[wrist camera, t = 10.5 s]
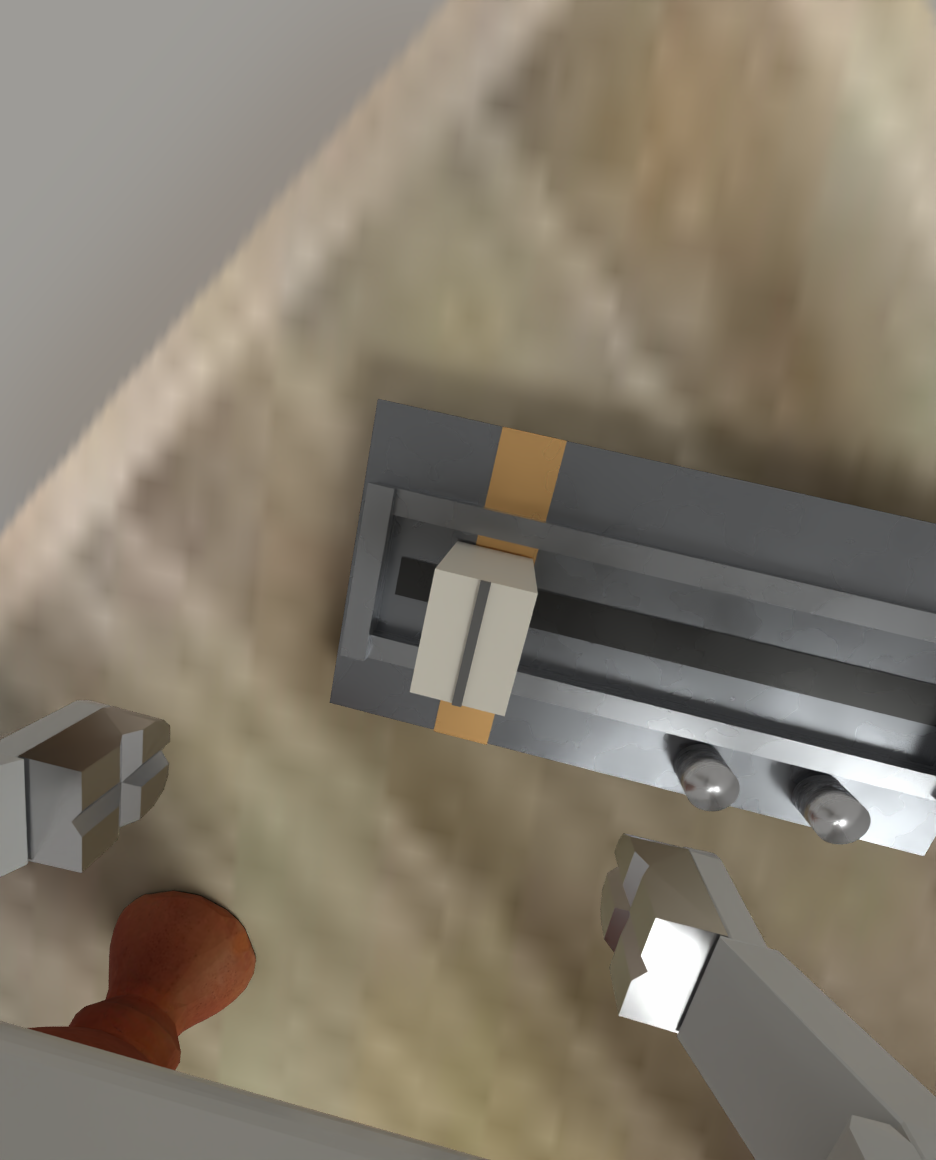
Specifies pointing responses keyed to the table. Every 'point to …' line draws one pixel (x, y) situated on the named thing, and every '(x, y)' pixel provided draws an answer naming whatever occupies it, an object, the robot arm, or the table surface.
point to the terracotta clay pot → (164, 977)
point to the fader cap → (475, 627)
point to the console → (663, 624)
